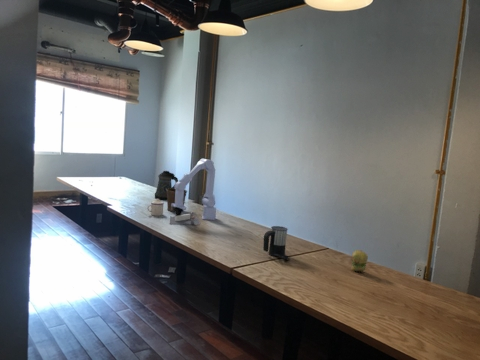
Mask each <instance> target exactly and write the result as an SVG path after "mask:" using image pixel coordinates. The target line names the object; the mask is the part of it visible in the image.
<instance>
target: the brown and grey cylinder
mask: <svg viewBox="0 0 480 360" xmlns="http://www.w3.org/2000/svg"><path fill="white" fill-rule="evenodd" d="M194 220H195V216H194V215H193V216H191V225H190V226H195V225H194Z"/></svg>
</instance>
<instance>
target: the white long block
mask: <svg viewBox="0 0 480 360" xmlns="http://www.w3.org/2000/svg"><path fill="white" fill-rule="evenodd" d="M190 215H191V214H190V213H186V214H185V213H184V214H181V215H178V216H176V215H175V216H174V217H175V221H181V220H187V219H190Z"/></svg>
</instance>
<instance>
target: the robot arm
mask: <svg viewBox="0 0 480 360" xmlns="http://www.w3.org/2000/svg"><path fill="white" fill-rule="evenodd" d="M200 170H205V171H206V172H207V174H206V185H205V193H204V194H203V197H202V199H201V203H202V204H203V205H202V208H203V210H202V216H201V219H202V220H210V221H216V217H217V216H216V215H217V207H216V197H215V195H214V187H215V177H216V169H215V165H214V162H213V160H211V159H206V158H203V157H202V158H201V159H199V161H197V163H196V164H195V166H194V167H193V168H192V169H191V170H190V171H189V173H186V174H183V176H182V177H181V178H180V179H178V182H176V184H175V183H174V185H173V186H174V187H175V189H176V192H175V204H174V203H173V204H171V206H173V207H175V208H174V211H175V212H174V213H175V216H178V215H182V213H183V211H187V207H186V206H185V205H184V206H183V197H184V190H186V188H187V185H188V184H190V182H191V181H192V180H193V177H194V176H195V175H196V174H197V173H198V172H199V171H200Z"/></svg>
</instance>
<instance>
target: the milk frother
mask: <svg viewBox="0 0 480 360" xmlns="http://www.w3.org/2000/svg"><path fill="white" fill-rule="evenodd" d="M270 228H271V230H267V231H266V232H265V233H264V234H263V247H262V248H263V251H264V252H266V253H267V252H268V255H270V256H272V257H275V258H276V257H277V258H278V257H280V258H281V259H282V260H284V261H286V262H288V260H289V261H290V260H291V259H290V257H289V256H288V255H286V244H287V235H288V234H287V233H288V230H289V228H288V227H285V226H278V225H273V226H272V225H271V227H270Z"/></svg>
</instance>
